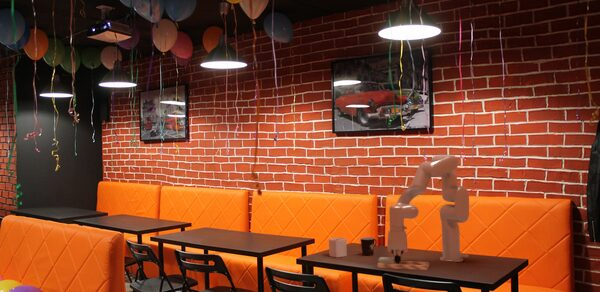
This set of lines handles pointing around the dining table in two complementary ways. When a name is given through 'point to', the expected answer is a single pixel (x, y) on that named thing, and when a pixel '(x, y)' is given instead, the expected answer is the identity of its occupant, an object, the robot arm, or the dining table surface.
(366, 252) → the coffee mug
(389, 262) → the grayish brown block
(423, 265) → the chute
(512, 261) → the dining table surface
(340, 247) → the white box
